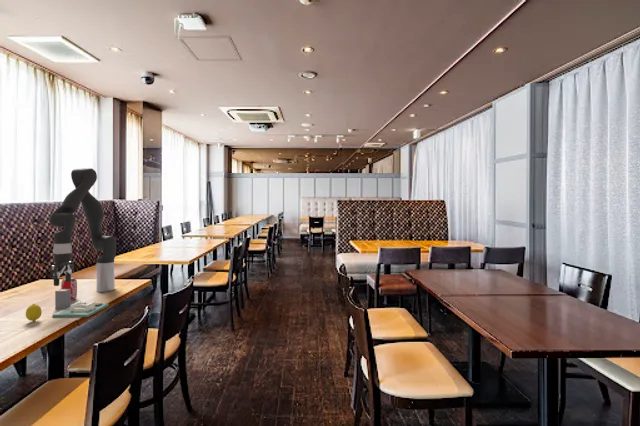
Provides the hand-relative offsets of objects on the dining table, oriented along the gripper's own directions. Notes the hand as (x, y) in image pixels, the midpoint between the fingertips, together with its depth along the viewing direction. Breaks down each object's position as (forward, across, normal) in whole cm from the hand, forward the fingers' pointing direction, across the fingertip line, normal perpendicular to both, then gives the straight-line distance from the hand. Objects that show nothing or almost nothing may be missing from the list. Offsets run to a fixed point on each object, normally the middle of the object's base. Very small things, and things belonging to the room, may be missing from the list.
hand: (62, 283), depth 177 cm
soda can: (+12, -14, -6) cm, 20 cm away
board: (+12, +6, +13) cm, 19 cm away
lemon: (+13, +21, +1) cm, 24 cm away
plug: (+12, 0, 0) cm, 12 cm away
